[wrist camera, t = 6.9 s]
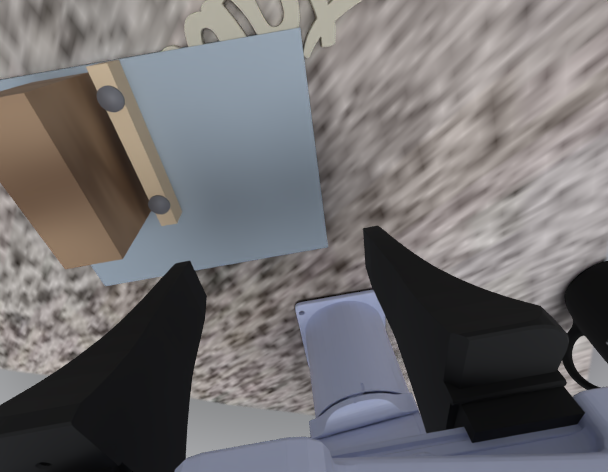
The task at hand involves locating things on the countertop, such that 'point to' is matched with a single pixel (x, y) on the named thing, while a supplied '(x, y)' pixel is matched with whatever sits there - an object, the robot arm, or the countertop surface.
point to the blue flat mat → (213, 151)
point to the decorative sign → (229, 28)
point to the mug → (588, 315)
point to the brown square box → (70, 170)
